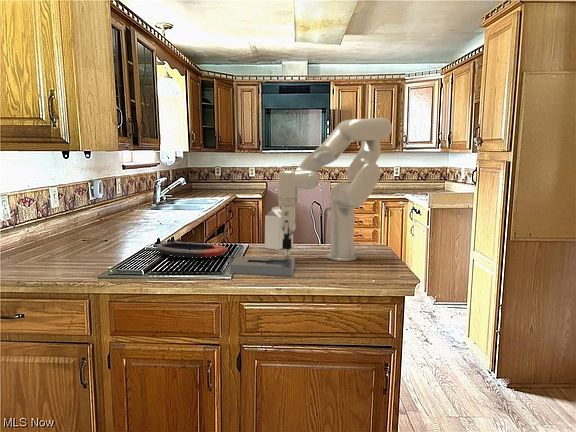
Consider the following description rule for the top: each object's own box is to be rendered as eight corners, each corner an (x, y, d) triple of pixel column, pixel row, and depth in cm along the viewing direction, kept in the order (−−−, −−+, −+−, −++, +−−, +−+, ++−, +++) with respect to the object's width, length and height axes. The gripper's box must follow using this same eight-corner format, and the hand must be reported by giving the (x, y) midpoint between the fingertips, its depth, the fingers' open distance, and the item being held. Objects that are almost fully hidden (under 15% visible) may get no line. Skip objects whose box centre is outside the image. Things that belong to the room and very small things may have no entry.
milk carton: (264, 248, 196) (265, 207, 194) (272, 245, 203) (272, 205, 200) (278, 250, 193) (278, 208, 190) (285, 247, 199) (286, 206, 197)
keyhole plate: (294, 267, 165) (295, 258, 164) (291, 276, 152) (291, 267, 151) (238, 264, 167) (238, 256, 166) (230, 273, 154) (230, 264, 154)
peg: (293, 260, 175) (294, 233, 173) (292, 263, 170) (293, 235, 168) (282, 259, 175) (282, 233, 174) (280, 262, 170) (280, 235, 169)
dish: (168, 249, 191) (168, 238, 190) (233, 255, 183) (233, 243, 182) (148, 257, 176) (148, 245, 175) (218, 263, 168) (218, 251, 168)
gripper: (295, 204, 160) (295, 252, 163) (299, 200, 177) (298, 243, 180) (275, 204, 161) (275, 252, 164) (281, 199, 178) (280, 243, 180)
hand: (287, 247), depth 172 cm, fingers closed on peg, 4 cm apart
